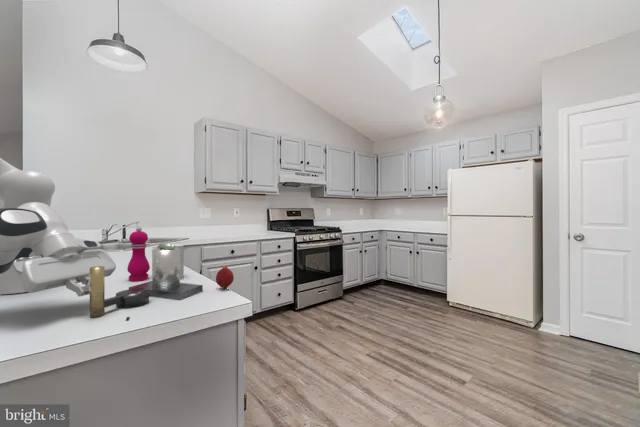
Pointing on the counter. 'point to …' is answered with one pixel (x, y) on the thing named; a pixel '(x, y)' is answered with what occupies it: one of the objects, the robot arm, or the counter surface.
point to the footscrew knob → (121, 299)
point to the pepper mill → (138, 256)
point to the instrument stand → (167, 275)
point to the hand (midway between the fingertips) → (86, 293)
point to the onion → (224, 277)
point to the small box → (180, 258)
